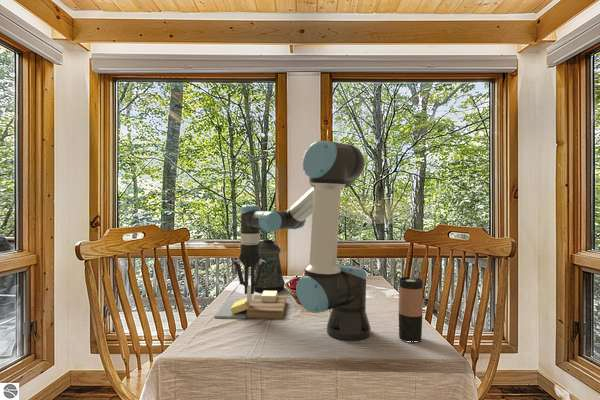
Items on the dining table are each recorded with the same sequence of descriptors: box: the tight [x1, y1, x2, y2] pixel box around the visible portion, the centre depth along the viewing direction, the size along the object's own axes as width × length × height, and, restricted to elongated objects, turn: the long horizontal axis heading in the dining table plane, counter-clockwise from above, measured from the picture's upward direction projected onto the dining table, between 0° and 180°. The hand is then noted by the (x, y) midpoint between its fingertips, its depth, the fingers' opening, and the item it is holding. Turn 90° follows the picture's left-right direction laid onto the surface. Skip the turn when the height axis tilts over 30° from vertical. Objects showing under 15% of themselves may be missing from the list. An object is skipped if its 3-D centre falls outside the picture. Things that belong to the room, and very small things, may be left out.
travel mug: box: [398, 276, 424, 342], centre depth 126 cm, size 8×8×20 cm
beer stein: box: [254, 239, 286, 294], centre depth 192 cm, size 16×19×25 cm
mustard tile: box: [230, 297, 250, 314], centre depth 152 cm, size 9×6×2 cm, turn 178°
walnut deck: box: [246, 294, 287, 319], centre depth 157 cm, size 22×14×3 cm, turn 178°
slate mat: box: [214, 298, 251, 320], centre depth 158 cm, size 24×12×1 cm, turn 178°
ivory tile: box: [260, 291, 278, 302], centre depth 163 cm, size 9×6×2 cm, turn 178°
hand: (249, 302), depth 152 cm, fingers closed
